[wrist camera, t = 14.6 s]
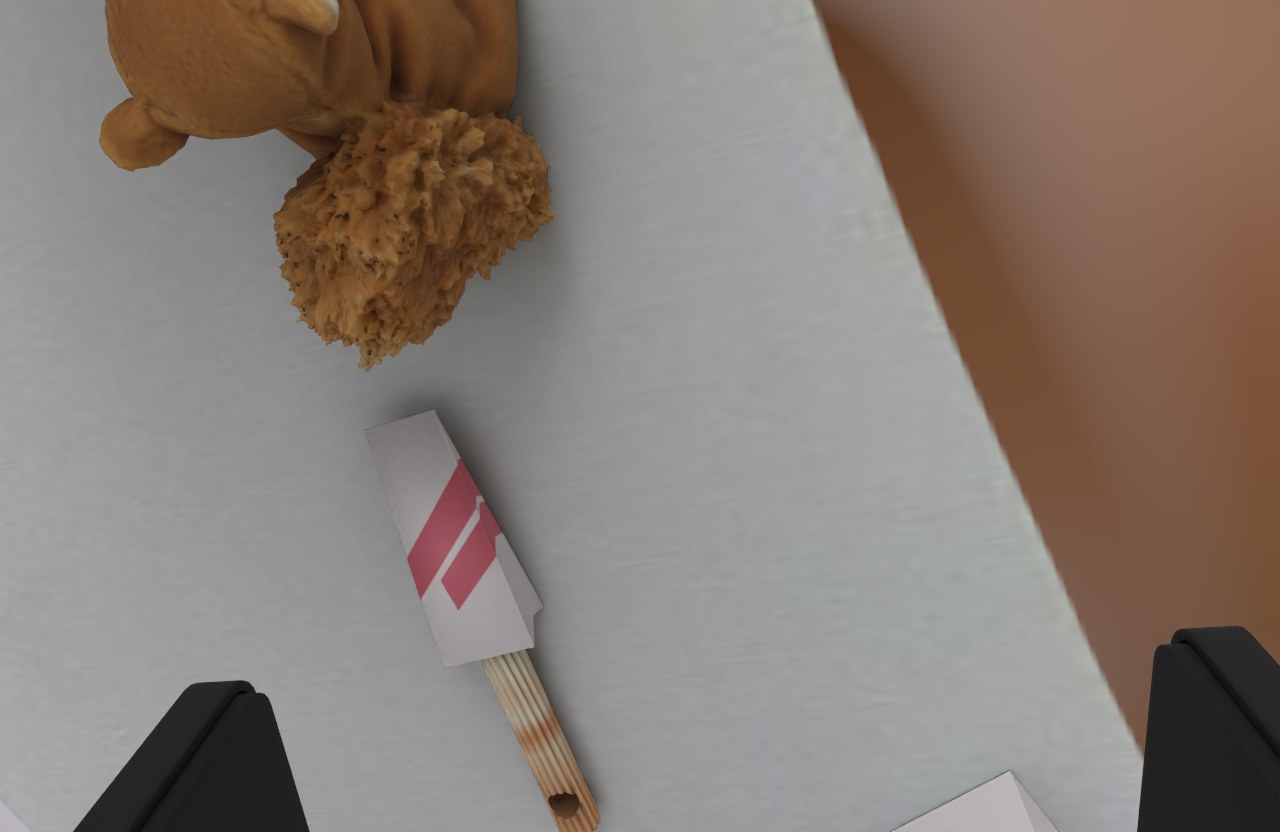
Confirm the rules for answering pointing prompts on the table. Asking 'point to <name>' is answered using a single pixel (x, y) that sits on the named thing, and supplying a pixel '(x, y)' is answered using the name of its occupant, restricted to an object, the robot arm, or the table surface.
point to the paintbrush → (476, 596)
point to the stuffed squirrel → (349, 141)
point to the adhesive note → (986, 811)
